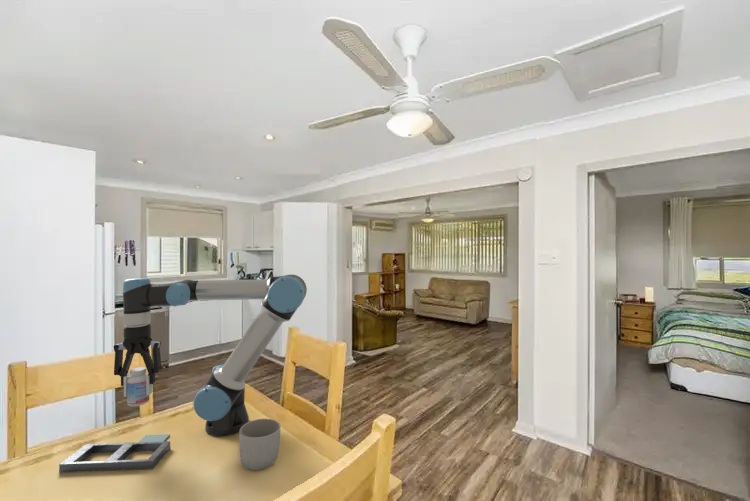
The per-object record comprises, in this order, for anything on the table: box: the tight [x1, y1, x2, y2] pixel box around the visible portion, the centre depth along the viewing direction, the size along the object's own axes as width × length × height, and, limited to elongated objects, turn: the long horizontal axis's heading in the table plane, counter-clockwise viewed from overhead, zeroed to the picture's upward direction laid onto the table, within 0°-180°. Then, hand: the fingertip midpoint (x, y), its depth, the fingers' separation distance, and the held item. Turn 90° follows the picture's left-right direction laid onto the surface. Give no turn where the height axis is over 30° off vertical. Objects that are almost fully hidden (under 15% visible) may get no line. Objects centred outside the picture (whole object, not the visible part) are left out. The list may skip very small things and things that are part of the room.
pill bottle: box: [126, 366, 150, 407], centre depth 116 cm, size 6×6×11 cm
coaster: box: [138, 433, 171, 442], centre depth 120 cm, size 8×8×1 cm
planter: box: [238, 418, 281, 471], centre depth 110 cm, size 12×12×11 cm
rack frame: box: [58, 440, 171, 474], centre depth 110 cm, size 26×11×2 cm, turn 96°
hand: (138, 394), depth 116 cm, fingers closed on pill bottle, 6 cm apart
